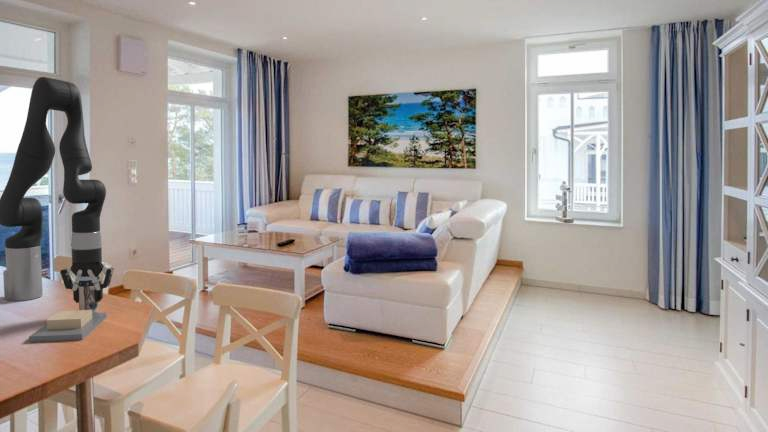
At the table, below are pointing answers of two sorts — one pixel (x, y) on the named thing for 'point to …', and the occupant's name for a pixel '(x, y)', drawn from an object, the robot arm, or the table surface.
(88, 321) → the slate board
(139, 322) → the table surface
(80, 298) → the beer can
